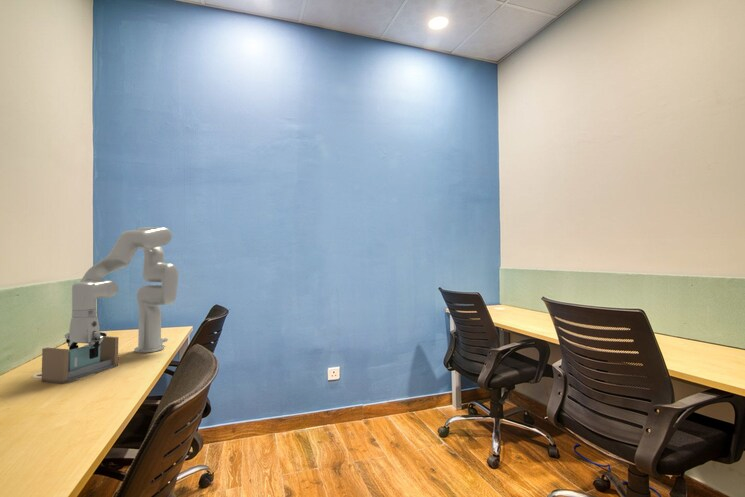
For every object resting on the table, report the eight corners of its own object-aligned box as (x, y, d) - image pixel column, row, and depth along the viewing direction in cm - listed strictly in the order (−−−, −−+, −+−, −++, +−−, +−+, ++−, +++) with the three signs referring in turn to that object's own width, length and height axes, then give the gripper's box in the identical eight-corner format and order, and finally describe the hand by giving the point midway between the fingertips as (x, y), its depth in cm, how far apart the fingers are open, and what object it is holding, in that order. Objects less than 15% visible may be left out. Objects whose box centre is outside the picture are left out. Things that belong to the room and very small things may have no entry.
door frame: (98, 364, 155) (98, 335, 155) (117, 365, 153) (118, 337, 153) (41, 381, 133) (42, 348, 133) (63, 383, 131) (64, 350, 131)
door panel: (93, 365, 149) (94, 343, 149) (100, 366, 148) (100, 344, 149) (63, 375, 137) (63, 351, 138) (70, 375, 137) (70, 351, 137)
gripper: (111, 312, 145) (110, 355, 145) (75, 311, 149) (75, 352, 149) (93, 316, 138) (92, 361, 138) (56, 314, 142) (56, 358, 142)
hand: (83, 357), depth 143 cm, fingers open, 9 cm apart
